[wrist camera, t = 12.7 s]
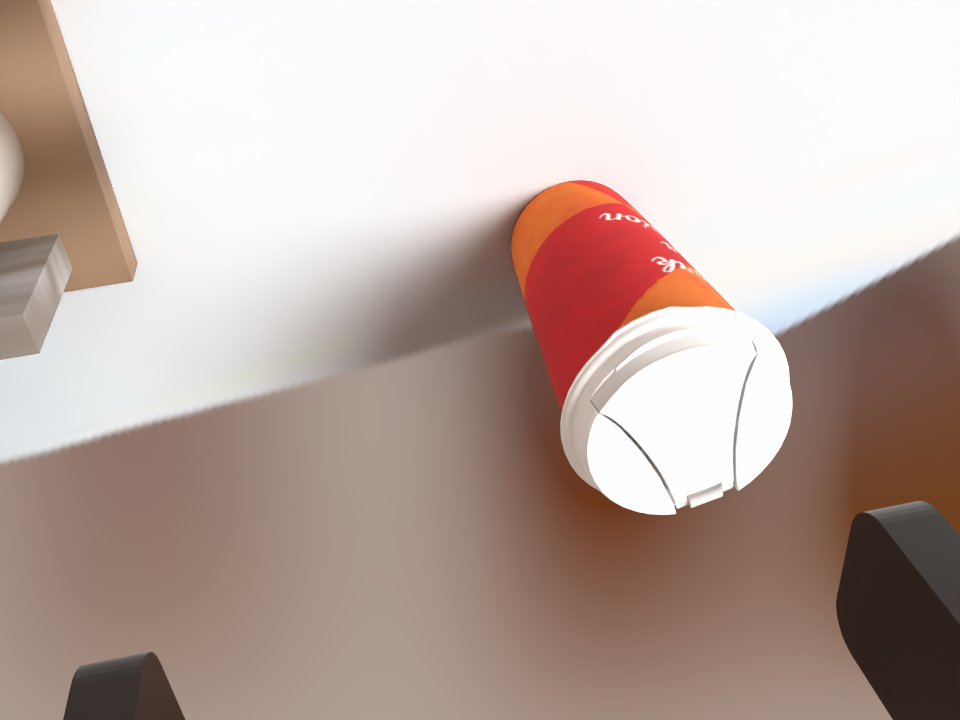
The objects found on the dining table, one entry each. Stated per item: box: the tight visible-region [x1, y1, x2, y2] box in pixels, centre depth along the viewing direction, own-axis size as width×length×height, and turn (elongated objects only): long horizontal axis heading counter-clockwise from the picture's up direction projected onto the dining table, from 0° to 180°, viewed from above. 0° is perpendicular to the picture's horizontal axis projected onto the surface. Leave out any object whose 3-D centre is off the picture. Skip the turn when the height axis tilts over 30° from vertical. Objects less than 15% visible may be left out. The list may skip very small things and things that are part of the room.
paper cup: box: [511, 180, 792, 515], centre depth 34 cm, size 8×8×14 cm
